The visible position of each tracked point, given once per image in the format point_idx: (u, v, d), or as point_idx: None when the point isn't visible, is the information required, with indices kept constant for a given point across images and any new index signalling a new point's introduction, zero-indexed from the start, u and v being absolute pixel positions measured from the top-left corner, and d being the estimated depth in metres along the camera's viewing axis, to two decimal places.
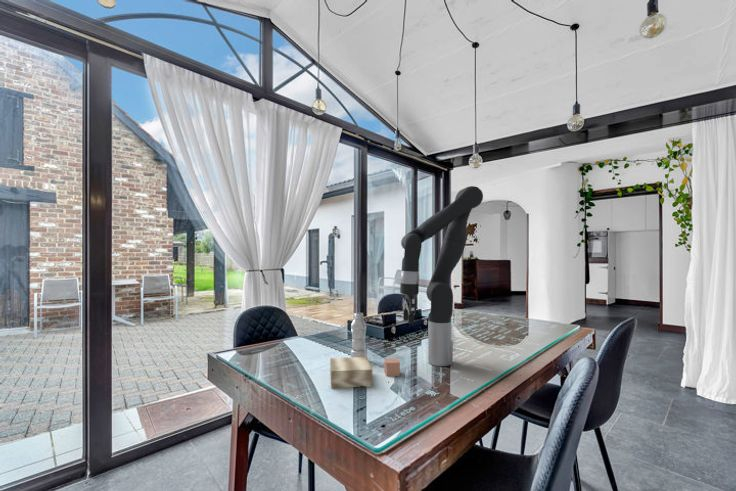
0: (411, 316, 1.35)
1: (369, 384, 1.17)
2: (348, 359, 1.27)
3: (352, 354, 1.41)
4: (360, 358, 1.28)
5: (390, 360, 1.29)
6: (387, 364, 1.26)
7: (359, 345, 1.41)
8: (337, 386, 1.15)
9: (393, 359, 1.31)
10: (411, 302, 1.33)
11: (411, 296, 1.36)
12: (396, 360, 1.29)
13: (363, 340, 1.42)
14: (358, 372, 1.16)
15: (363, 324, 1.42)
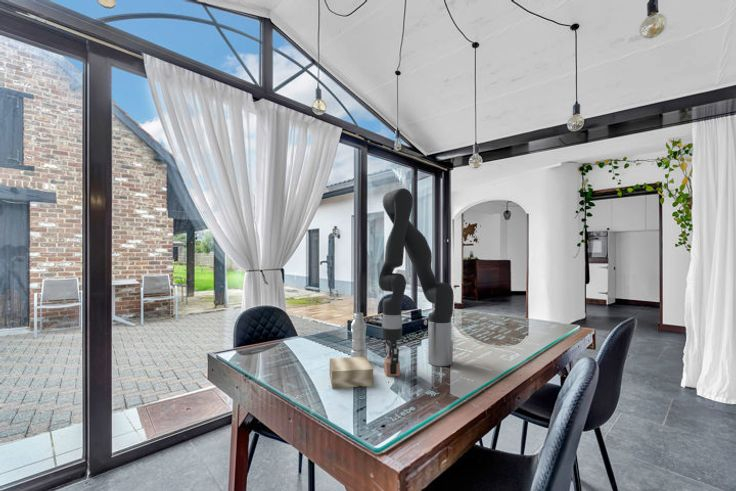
0: None
1: (370, 384, 1.17)
2: (347, 359, 1.27)
3: (352, 354, 1.41)
4: (359, 358, 1.29)
5: None
6: (387, 364, 1.26)
7: (359, 345, 1.41)
8: (338, 386, 1.15)
9: (393, 358, 1.31)
10: (393, 353, 1.22)
11: (393, 342, 1.25)
12: None
13: (363, 340, 1.42)
14: (359, 372, 1.16)
15: (363, 324, 1.42)
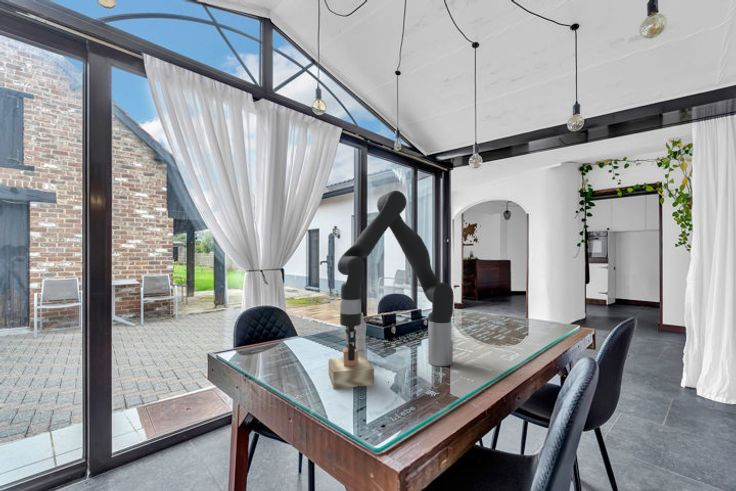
0: None
1: (371, 383, 1.17)
2: None
3: None
4: (358, 358, 1.29)
5: None
6: (344, 353, 1.20)
7: (359, 345, 1.41)
8: (339, 387, 1.15)
9: None
10: (349, 336, 1.16)
11: (351, 328, 1.19)
12: (355, 349, 1.23)
13: (363, 340, 1.42)
14: (360, 372, 1.17)
15: (363, 324, 1.42)
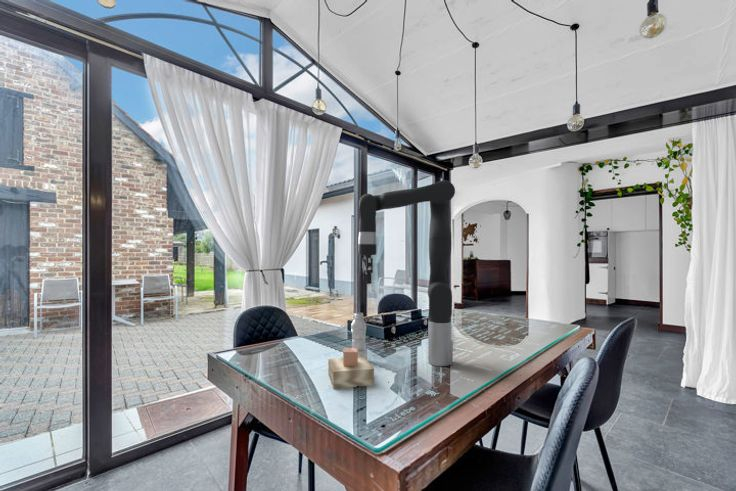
0: None
1: (371, 383, 1.17)
2: None
3: None
4: (358, 358, 1.29)
5: (348, 350, 1.23)
6: (344, 353, 1.20)
7: (359, 345, 1.41)
8: (339, 387, 1.15)
9: (353, 348, 1.25)
10: (367, 261, 1.34)
11: (368, 256, 1.37)
12: (355, 349, 1.23)
13: (363, 340, 1.42)
14: (360, 372, 1.17)
15: (363, 324, 1.42)
